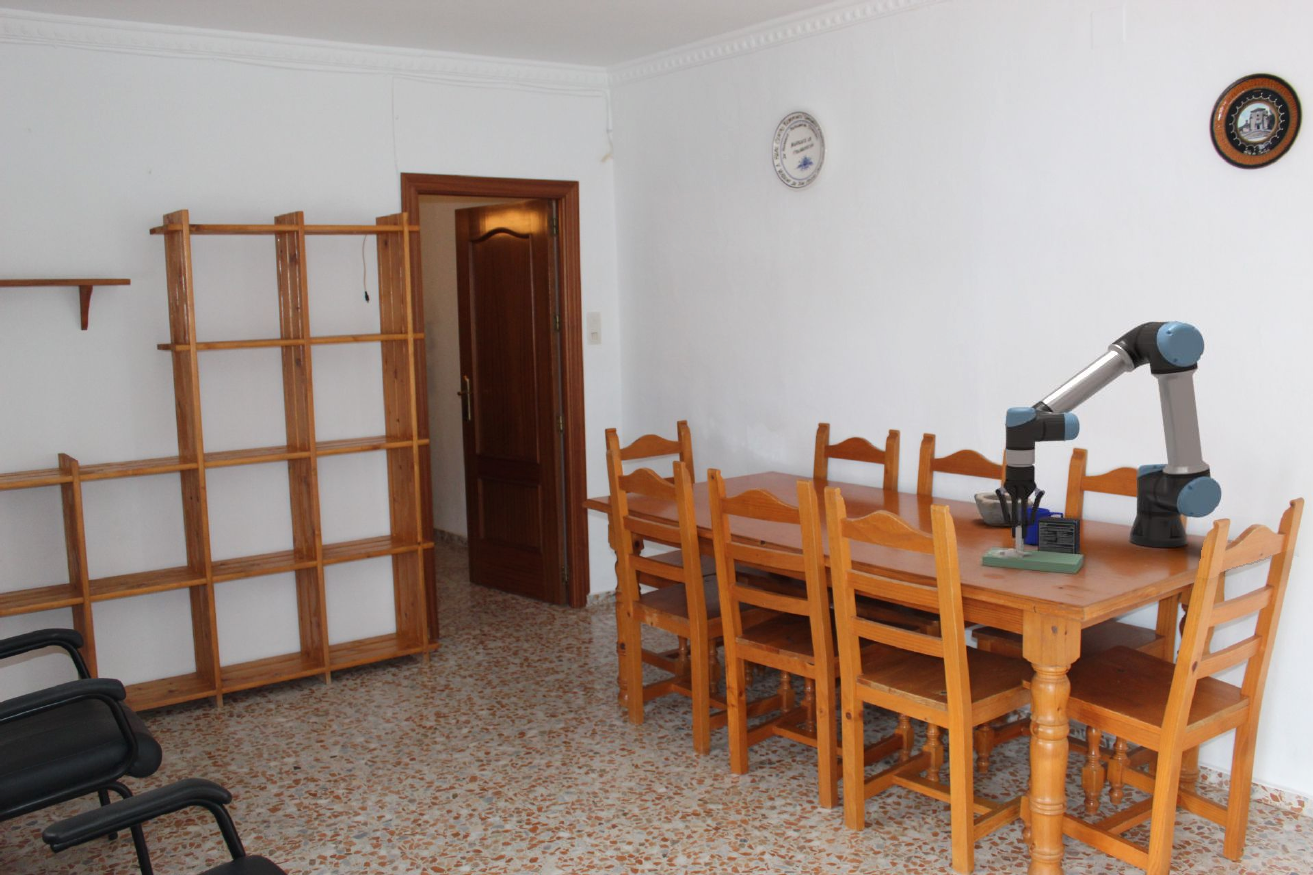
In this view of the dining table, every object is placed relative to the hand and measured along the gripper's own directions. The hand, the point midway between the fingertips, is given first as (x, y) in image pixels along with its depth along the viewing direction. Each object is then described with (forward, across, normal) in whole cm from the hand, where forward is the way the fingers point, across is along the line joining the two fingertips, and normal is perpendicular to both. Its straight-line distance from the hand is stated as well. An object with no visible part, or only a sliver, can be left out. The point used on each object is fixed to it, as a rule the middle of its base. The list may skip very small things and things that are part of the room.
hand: (1019, 549), depth 287 cm
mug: (+4, -1, -28) cm, 28 cm away
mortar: (+4, +16, -51) cm, 54 cm away
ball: (+2, +2, 0) cm, 3 cm away
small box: (+4, -8, -14) cm, 16 cm away
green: (+4, -4, 0) cm, 5 cm away
